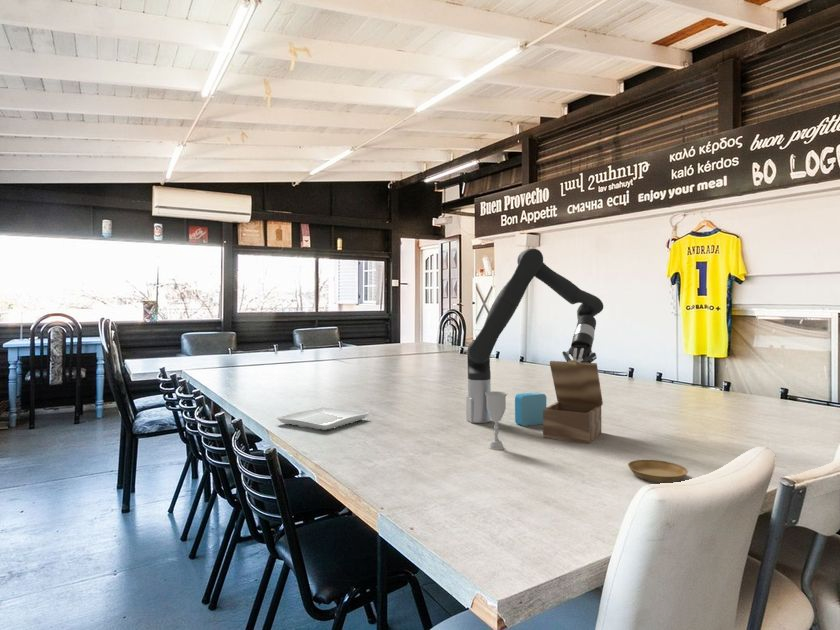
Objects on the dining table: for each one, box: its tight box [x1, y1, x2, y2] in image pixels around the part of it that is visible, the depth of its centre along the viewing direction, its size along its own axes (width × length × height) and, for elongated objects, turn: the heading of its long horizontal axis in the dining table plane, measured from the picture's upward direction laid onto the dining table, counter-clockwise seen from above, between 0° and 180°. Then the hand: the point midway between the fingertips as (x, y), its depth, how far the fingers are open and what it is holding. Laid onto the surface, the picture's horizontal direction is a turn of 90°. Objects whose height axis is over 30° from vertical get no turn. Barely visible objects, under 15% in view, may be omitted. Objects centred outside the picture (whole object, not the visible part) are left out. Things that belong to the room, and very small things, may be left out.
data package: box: [514, 391, 547, 427], centre depth 200 cm, size 12×4×12 cm, turn 112°
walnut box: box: [542, 401, 602, 444], centre depth 182 cm, size 18×16×10 cm
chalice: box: [485, 391, 508, 451], centre depth 166 cm, size 7×7×18 cm
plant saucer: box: [627, 459, 689, 484], centre depth 137 cm, size 15×15×3 cm
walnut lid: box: [549, 359, 604, 406], centre depth 186 cm, size 19×17×2 cm
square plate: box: [275, 406, 371, 431], centre depth 205 cm, size 27×27×4 cm
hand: (575, 373), depth 185 cm, fingers closed
